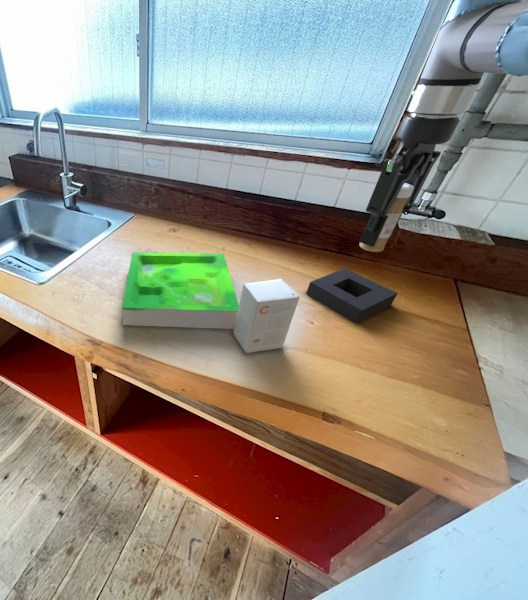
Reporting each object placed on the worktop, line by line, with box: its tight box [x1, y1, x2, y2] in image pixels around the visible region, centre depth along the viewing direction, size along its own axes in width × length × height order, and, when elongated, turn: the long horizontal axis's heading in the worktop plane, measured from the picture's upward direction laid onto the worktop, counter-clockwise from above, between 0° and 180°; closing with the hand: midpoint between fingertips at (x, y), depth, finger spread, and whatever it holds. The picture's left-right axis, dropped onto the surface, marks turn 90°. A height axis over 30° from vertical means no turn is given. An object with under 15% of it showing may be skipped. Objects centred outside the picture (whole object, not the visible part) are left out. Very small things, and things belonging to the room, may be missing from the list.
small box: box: [233, 278, 300, 354], centre depth 63 cm, size 8×6×13 cm
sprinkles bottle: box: [359, 183, 414, 253], centre depth 65 cm, size 5×5×14 cm
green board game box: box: [121, 252, 239, 330], centre depth 80 cm, size 25×25×5 cm
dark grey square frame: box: [305, 267, 399, 324], centre depth 76 cm, size 13×13×4 cm
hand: (374, 240), depth 68 cm, fingers closed on sprinkles bottle, 4 cm apart
